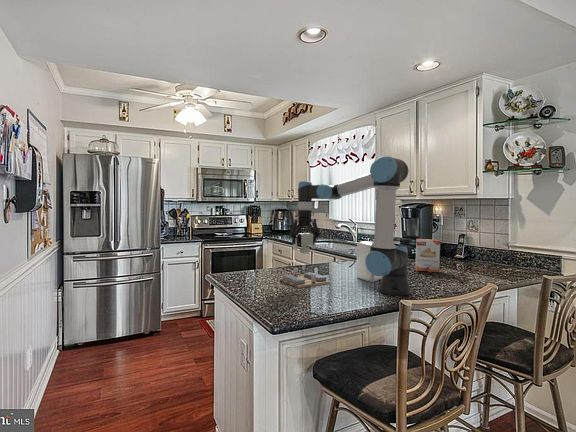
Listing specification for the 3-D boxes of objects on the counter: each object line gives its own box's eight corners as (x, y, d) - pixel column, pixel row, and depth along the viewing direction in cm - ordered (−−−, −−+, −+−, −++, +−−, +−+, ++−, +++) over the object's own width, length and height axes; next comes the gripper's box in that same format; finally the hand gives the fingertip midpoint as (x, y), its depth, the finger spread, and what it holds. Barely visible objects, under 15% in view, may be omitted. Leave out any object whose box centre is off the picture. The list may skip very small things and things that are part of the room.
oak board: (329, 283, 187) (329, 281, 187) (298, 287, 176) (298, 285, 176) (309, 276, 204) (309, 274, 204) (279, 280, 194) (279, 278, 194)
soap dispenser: (374, 282, 189) (374, 243, 188) (350, 279, 198) (351, 241, 197) (384, 278, 201) (385, 240, 201) (362, 275, 210) (362, 239, 209)
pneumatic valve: (316, 253, 190) (316, 231, 190) (297, 254, 184) (298, 232, 184) (310, 251, 195) (310, 230, 195) (292, 253, 189) (292, 231, 189)
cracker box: (416, 271, 221) (416, 239, 220) (415, 270, 227) (416, 238, 226) (439, 273, 217) (440, 240, 216) (438, 271, 223) (439, 239, 222)
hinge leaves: (329, 281, 186) (329, 272, 186) (299, 285, 176) (299, 276, 176) (308, 274, 204) (308, 266, 204) (280, 278, 194) (280, 269, 194)
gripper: (318, 209, 198) (317, 247, 199) (282, 209, 186) (282, 249, 187) (326, 209, 192) (325, 248, 192) (289, 209, 179) (289, 251, 180)
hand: (304, 249), depth 190 cm, fingers closed on pneumatic valve, 11 cm apart
